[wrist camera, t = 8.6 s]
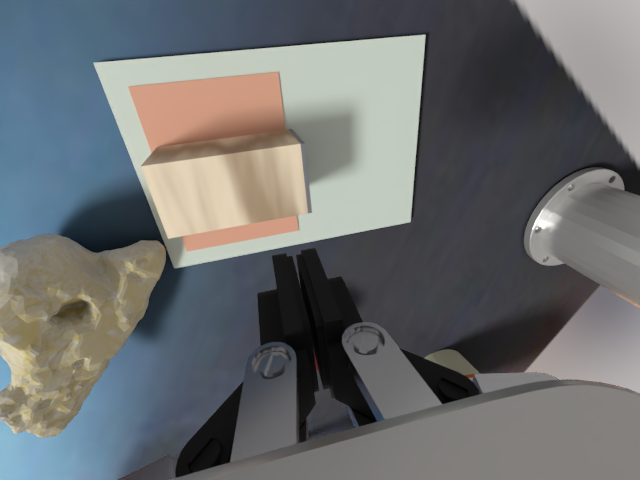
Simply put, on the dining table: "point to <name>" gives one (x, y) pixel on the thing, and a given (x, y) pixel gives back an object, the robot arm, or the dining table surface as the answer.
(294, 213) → the maple block
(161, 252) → the beige rock
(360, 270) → the dining table surface
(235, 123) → the mat
